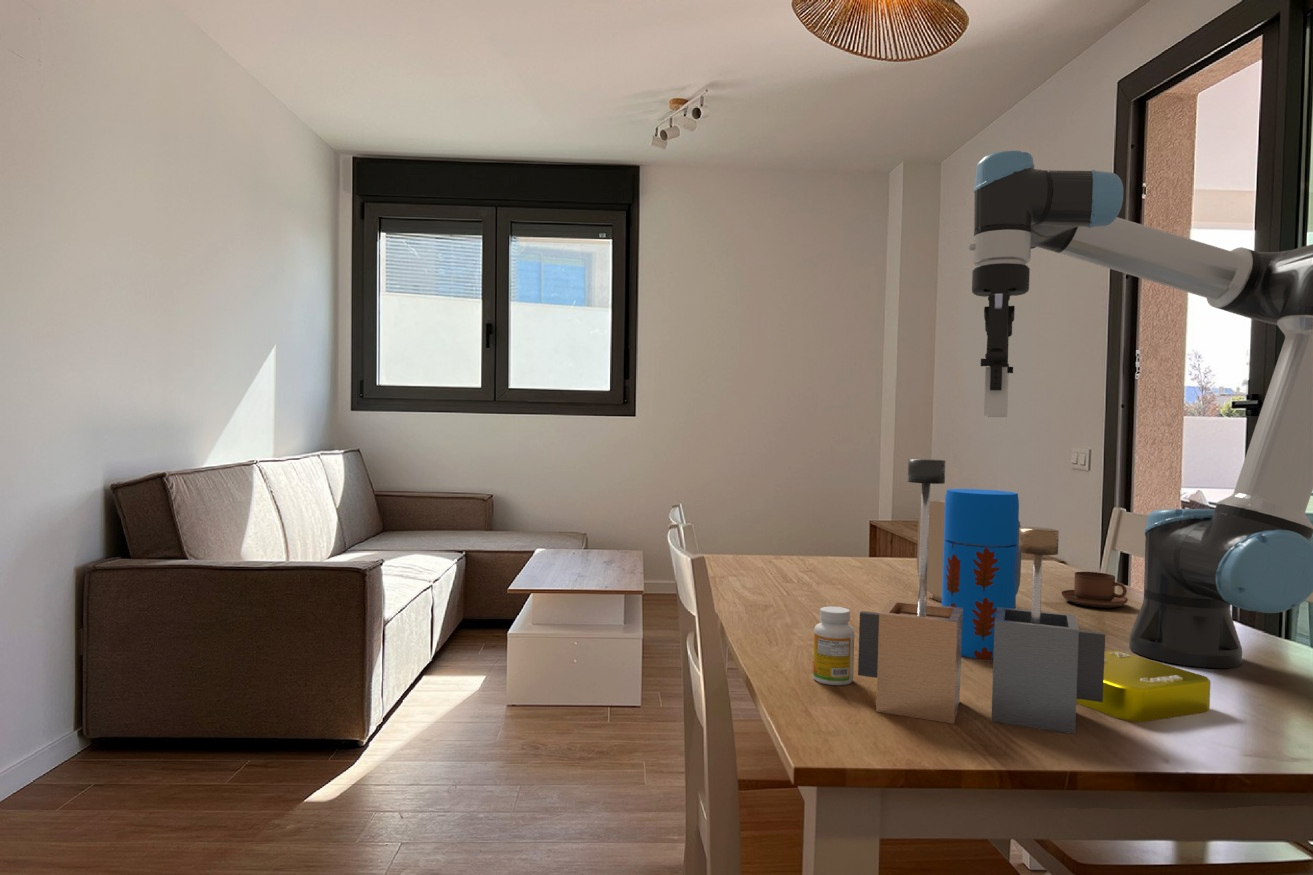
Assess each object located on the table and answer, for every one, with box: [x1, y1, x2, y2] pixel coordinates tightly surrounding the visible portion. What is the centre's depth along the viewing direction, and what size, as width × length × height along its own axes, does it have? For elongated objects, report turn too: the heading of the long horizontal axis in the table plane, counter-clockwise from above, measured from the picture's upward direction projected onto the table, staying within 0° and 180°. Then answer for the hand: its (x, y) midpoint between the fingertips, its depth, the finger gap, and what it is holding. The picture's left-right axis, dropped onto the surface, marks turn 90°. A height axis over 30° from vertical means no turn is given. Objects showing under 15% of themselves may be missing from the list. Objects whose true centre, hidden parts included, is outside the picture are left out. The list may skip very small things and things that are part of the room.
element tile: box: [1076, 650, 1211, 723], centre depth 113 cm, size 15×15×5 cm
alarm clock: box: [916, 493, 1022, 603], centre depth 171 cm, size 21×10×22 cm, turn 15°
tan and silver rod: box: [1018, 526, 1060, 624], centre depth 105 cm, size 6×6×21 cm
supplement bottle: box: [812, 606, 855, 686], centre depth 118 cm, size 5×5×10 cm
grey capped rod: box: [900, 458, 949, 620], centre depth 107 cm, size 6×6×21 cm
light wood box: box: [857, 599, 963, 724], centre depth 108 cm, size 12×9×12 cm
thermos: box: [941, 488, 1020, 660], centre depth 135 cm, size 11×11×25 cm
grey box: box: [991, 607, 1106, 735], centre depth 104 cm, size 12×9×12 cm
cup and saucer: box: [1061, 571, 1129, 609], centre depth 174 cm, size 12×12×6 cm
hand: (996, 416), depth 122 cm, fingers open, 13 cm apart
